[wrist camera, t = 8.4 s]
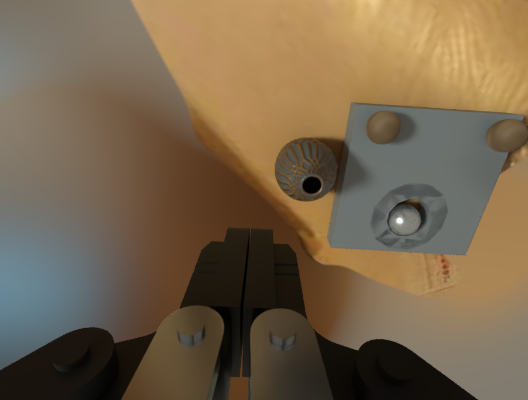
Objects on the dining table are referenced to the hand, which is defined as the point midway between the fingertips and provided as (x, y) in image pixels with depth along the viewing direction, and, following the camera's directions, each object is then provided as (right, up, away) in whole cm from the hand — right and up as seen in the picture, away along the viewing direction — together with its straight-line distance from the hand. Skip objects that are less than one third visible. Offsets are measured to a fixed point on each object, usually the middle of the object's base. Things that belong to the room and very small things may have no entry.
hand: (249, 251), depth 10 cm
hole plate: (+19, +4, +26) cm, 33 cm away
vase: (+5, +7, +25) cm, 27 cm away
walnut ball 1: (+13, +9, +19) cm, 25 cm away
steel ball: (+18, -1, +26) cm, 32 cm away
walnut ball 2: (+26, +8, +20) cm, 34 cm away
